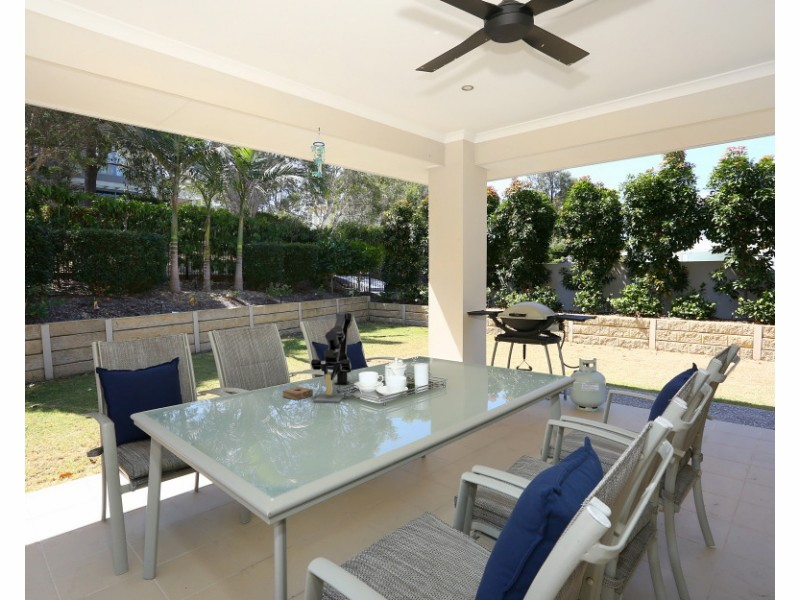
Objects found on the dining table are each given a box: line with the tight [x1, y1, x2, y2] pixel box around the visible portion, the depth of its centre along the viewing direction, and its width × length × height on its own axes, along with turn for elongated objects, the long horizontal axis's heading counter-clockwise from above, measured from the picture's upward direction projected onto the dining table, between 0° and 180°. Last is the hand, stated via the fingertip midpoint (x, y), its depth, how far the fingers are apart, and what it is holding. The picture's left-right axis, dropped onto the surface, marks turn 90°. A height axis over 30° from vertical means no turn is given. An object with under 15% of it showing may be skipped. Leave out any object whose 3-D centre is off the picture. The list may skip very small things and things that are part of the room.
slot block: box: [282, 386, 314, 401], centre depth 223 cm, size 10×10×3 cm
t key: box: [324, 371, 334, 395], centre depth 218 cm, size 5×2×10 cm, turn 176°
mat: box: [313, 392, 345, 404], centre depth 218 cm, size 12×12×1 cm
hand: (328, 380), depth 216 cm, fingers closed on t key, 2 cm apart
